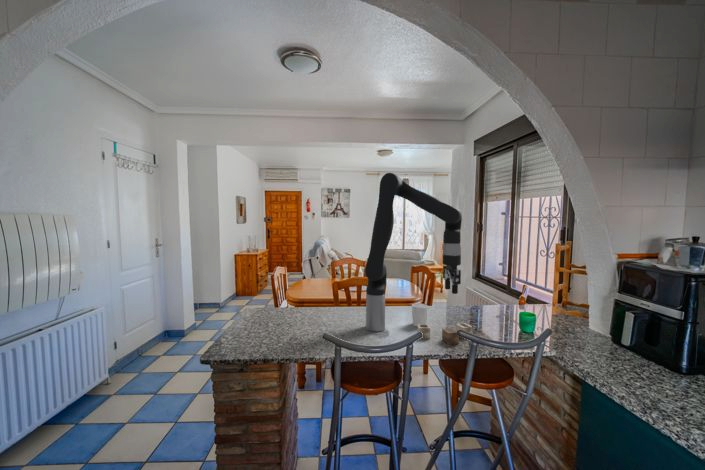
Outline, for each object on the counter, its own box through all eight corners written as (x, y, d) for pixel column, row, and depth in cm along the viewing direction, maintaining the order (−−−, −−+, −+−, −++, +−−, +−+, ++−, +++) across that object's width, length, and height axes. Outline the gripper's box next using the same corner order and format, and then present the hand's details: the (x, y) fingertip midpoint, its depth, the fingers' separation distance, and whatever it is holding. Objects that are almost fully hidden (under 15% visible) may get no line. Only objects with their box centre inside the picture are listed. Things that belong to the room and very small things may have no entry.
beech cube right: (463, 338, 125) (463, 327, 125) (456, 334, 130) (456, 323, 130) (472, 337, 126) (472, 326, 126) (465, 333, 131) (465, 322, 131)
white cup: (423, 328, 136) (424, 308, 136) (409, 325, 141) (409, 305, 141) (429, 324, 142) (430, 305, 142) (415, 321, 147) (415, 302, 147)
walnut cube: (448, 344, 118) (448, 333, 118) (442, 340, 123) (442, 328, 123) (458, 343, 119) (458, 332, 119) (452, 339, 124) (452, 328, 124)
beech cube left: (418, 338, 124) (418, 327, 124) (417, 334, 129) (417, 323, 129) (430, 339, 124) (430, 327, 124) (428, 334, 129) (428, 324, 129)
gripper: (437, 252, 127) (437, 287, 128) (449, 255, 113) (448, 295, 113) (453, 252, 127) (453, 287, 128) (467, 255, 113) (466, 295, 113)
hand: (451, 291), depth 120 cm, fingers open, 7 cm apart
